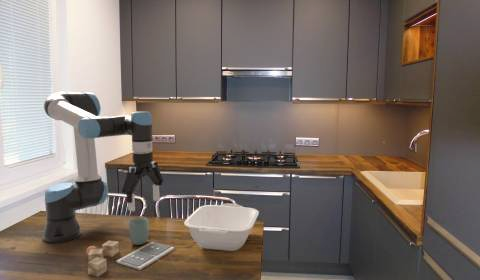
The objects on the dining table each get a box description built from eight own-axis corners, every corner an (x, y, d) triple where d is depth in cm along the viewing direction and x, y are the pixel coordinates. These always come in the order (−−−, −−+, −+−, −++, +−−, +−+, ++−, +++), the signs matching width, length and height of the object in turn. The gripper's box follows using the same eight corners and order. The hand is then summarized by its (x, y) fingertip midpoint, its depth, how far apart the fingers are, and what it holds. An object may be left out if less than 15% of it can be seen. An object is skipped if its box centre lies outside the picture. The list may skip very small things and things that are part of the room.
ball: (84, 256, 142) (83, 247, 141) (92, 252, 145) (92, 243, 145) (91, 258, 140) (90, 249, 139) (99, 254, 143) (99, 245, 143)
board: (116, 262, 137) (116, 259, 137) (152, 243, 154) (152, 240, 154) (140, 270, 131) (139, 266, 131) (174, 249, 149) (174, 246, 149)
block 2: (96, 257, 132) (97, 268, 133) (87, 262, 128) (88, 274, 128) (106, 259, 130) (107, 270, 131) (97, 264, 126) (98, 276, 127)
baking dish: (203, 226, 174) (203, 201, 172) (261, 231, 168) (261, 205, 166) (177, 258, 141) (176, 227, 139) (248, 265, 135) (248, 233, 133)
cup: (143, 247, 150) (142, 225, 149) (126, 246, 152) (125, 223, 150) (151, 240, 158) (151, 218, 156) (135, 238, 159) (134, 217, 158)
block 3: (102, 255, 143) (102, 245, 142) (109, 250, 147) (108, 240, 147) (112, 256, 142) (112, 246, 141) (118, 252, 146) (118, 241, 146)
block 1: (88, 266, 135) (88, 254, 134) (91, 260, 139) (90, 249, 138) (101, 264, 135) (100, 253, 135) (103, 259, 140) (102, 248, 139)
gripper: (125, 158, 124) (127, 216, 127) (171, 148, 146) (172, 198, 149) (109, 156, 128) (112, 213, 131) (157, 146, 150) (158, 196, 152)
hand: (144, 205), depth 140 cm, fingers open, 13 cm apart
